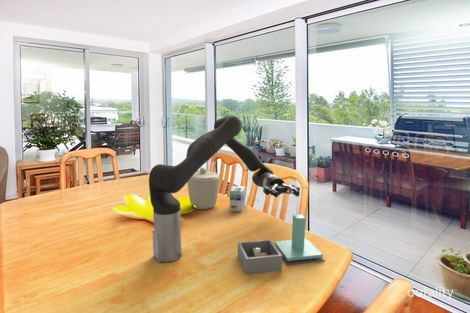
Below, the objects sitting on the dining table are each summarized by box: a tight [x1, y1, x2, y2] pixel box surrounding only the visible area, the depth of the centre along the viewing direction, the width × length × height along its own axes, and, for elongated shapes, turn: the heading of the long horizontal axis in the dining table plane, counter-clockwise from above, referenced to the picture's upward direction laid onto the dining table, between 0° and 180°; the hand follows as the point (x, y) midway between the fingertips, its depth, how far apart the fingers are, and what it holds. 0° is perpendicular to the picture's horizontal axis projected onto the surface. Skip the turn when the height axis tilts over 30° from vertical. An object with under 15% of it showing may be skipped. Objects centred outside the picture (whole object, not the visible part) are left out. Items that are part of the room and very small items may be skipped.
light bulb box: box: [229, 185, 247, 213], centre depth 160 cm, size 11×7×11 cm, turn 168°
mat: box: [276, 247, 326, 266], centre depth 112 cm, size 14×14×1 cm
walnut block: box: [254, 253, 267, 257], centre depth 102 cm, size 4×4×4 cm
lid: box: [273, 213, 324, 261], centre depth 110 cm, size 13×13×14 cm
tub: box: [237, 239, 283, 275], centre depth 104 cm, size 12×12×6 cm
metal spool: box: [252, 246, 261, 257], centre depth 107 cm, size 3×3×4 cm
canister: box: [186, 167, 221, 210], centre depth 161 cm, size 18×18×21 cm
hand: (287, 194), depth 119 cm, fingers open, 8 cm apart
